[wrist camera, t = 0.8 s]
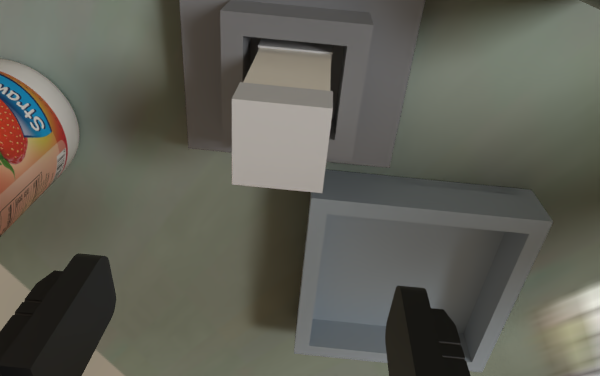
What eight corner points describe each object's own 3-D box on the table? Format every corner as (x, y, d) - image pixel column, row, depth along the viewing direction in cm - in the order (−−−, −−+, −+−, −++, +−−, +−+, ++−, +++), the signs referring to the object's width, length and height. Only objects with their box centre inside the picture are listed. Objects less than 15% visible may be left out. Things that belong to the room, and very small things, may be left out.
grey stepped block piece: (423, -26, 27) (440, -11, 23) (386, 153, 33) (394, 191, 29) (186, -49, 27) (159, -38, 23) (195, 135, 33) (175, 169, 29)
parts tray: (531, 189, 34) (553, 221, 31) (470, 335, 43) (481, 372, 40) (313, 168, 34) (311, 198, 31) (297, 317, 43) (294, 353, 40)
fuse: (332, 42, 27) (332, 108, 19) (325, 108, 30) (322, 192, 21) (262, 36, 27) (231, 99, 19) (260, 102, 30) (231, 184, 21)
